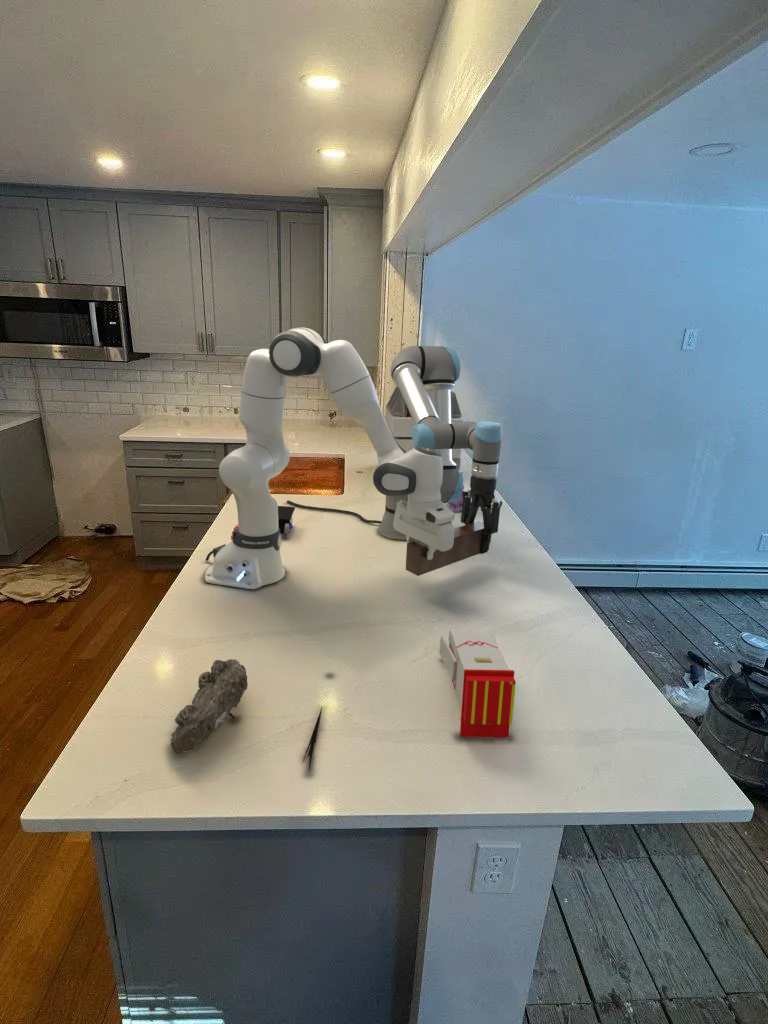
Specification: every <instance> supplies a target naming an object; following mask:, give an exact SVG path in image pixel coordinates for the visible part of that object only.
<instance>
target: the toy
mask: <svg viewBox="0 0 768 1024" xmlns="http://www.w3.org/2000/svg"><path fill="white" fill-rule="evenodd" d="M438 654H439V656H440V658H441V660H442V662H443V665H444V666H445V668H446V671H447V673H448V675H449V677H450V681H451V683H452V685H453V689H454V690H455V695H456V698H457V702H458V705H459V708H460V726H459V737H460V738H509V737H510V728H511V727H510V726H512V725H513V717H514V706H515V705H514V704H515V693H516V684H517V683H516V679H515V670H514V669H510V667H509V666H508V663H507V662H506V660H505V658H504V655H503V654H502V652H501V650H500V648H499V644H498V642H497V638H496V635H495V634H492V632H491V631H490V629H467V628H466V629H465V628H463V629H461V628H460V629H459V628H450V629H449V631H448V641H447V639H446V638H445V636H444V634H443V635H442V634H441V635H440V641H439V651H438Z"/></svg>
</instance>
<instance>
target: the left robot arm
mask: <svg viewBox="0 0 768 1024" xmlns="http://www.w3.org/2000/svg"><path fill="white" fill-rule="evenodd" d="M314 374H316V375H318V376H319V377H320V378H321V379H322V380H323V382H324V384H325V386H326V388H327V390H328V392H329V394H330V396H331V398H332V401H333V403H334V404H335V406H336V408H337V409H338V410H339V412H340V413H341V414H342V416H343V417H344V418H346V419H348V420H352V421H354V422H355V423H357V424H358V425H360V426H361V428H362V429H363V430H364V431H365V433H366V435H367V437H368V439H369V442H370V443H371V445H372V447H373V449H374V451H375V453H376V455H377V466H376V467H375V469H374V472H373V475H372V482H373V485H374V487H375V489H376V490H377V491H378V493H380V494H382V495H384V496H385V497H386V496H401V495H408V501H406V500H404V499H401V500H399V501H398V502H397V508H396V511H395V515H394V522H393V526H394V529H395V530H396V531H398V532H400V533H403V534H405V535H406V539H407V540H406V543H409V542H413V541H416V540H418V541H420V542H422V543H424V544H426V545H428V549H429V551H428V552H426V553H425V558H426V559H428V560H431V559H432V558H433V553H434V552H435V550H436V549H437V550H440V551H442V552H443V551H447V550H449V549H451V548H452V547H453V543H454V529H455V525H454V523H453V521H454V520H455V517H456V515H455V512H454V511H451V510H450V509H449V508H448V507H447V505H446V504H444V503H443V502H441V493H440V488H441V485H442V481H443V460H442V456H441V455H440V453H439V452H438V451H436V450H434V449H432V448H429V447H424V446H417V447H414V448H413V449H412V450H410V451H408V452H406V451H405V450H404V449H402V448H401V447H400V446H399V444H398V443H397V441H396V440H395V438H394V436H393V434H392V432H391V430H390V428H389V426H388V424H387V422H386V419H385V415H384V413H383V411H382V406H381V404H380V400H379V396H378V392H377V390H376V386H375V385H374V382H373V378H372V377H371V375H370V372H369V370H368V368H367V366H366V365H365V362H364V361H363V359H362V357H361V356H360V354H359V353H358V351H357V350H356V349H355V347H354V346H353V344H352V343H351V342H350V341H348V340H346V339H337V340H336V339H335V340H331V341H329V342H328V343H327V341H326V339H325V337H324V336H323V334H322V333H321V332H320V331H318V330H317V329H315V328H313V327H311V326H303V327H301V326H299V327H292V328H290V329H288V330H284V331H281V332H279V334H277V335H276V336H275V337H274V338H273V339H272V341H271V343H270V345H269V348H259V349H256V350H253V351H252V352H250V354H249V355H248V357H247V359H246V363H245V367H244V371H243V374H242V375H243V376H242V382H241V391H240V403H239V413H238V414H239V415H238V419H239V423H241V425H242V426H243V427H244V429H245V433H246V443H245V445H244V446H240V447H239V448H236V449H234V450H232V451H231V452H230V453H228V454H227V455H226V456H225V457H224V458H223V459H222V460H221V461H220V464H219V468H218V474H219V478H220V480H221V482H222V483H223V485H225V487H226V488H228V489H230V491H231V492H232V495H233V497H234V499H235V503H236V510H237V524H236V525H235V526H234V527H233V530H232V532H231V535H230V540H231V541H230V542H229V543H227V544H224V543H223V544H222V545H218V546H217V547H214V548H212V550H211V551H209V553H208V554H206V555H207V556H206V557H205V562H209V559H210V558H211V556H212V557H213V561H212V564H210V566H209V567H208V568H207V570H206V572H205V573H204V580H205V582H206V583H207V584H208V583H209V584H214V585H220V586H228V587H233V588H234V587H235V588H241V589H248V590H256V589H259V588H261V587H263V586H267V585H272V584H275V583H276V582H279V581H281V580H283V578H284V577H285V575H286V571H285V568H284V565H283V560H282V556H281V545H282V541H281V539H282V537H281V534H280V528H279V527H278V506H279V504H278V501H277V500H276V499H275V498H273V497H272V494H271V492H270V487H269V483H270V480H271V479H274V478H275V477H277V476H279V475H280V474H282V472H284V470H285V469H286V467H288V465H289V463H290V460H291V453H290V450H289V448H288V446H287V445H286V444H285V440H284V439H285V438H284V433H283V418H284V417H283V416H284V407H285V397H286V396H285V395H286V388H287V387H286V386H287V382H288V379H289V377H303V376H311V375H314Z"/></svg>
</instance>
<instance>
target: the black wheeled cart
mask: <svg viewBox="0 0 768 1024" xmlns="http://www.w3.org/2000/svg"><path fill="white" fill-rule="evenodd" d="M295 509H296V506H287V505H286V506H285V505H278V527H279V528H280V534H281V535H284V536H283V538H284V539H286V538H287V535H288V534H290V533H291V530H292V529H293V528H294V526H293V515H294V512H295Z"/></svg>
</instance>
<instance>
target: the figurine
mask: <svg viewBox="0 0 768 1024" xmlns="http://www.w3.org/2000/svg"><path fill="white" fill-rule="evenodd" d="M461 473H462V476H463V471H461ZM464 489H465V485H464V483H463V488H462V492H464ZM462 492H461V495H460V496H459V498H458V499H457V500H456V501H455V502H450V503H446V507H448V508H449V509H450V510H451V511H452V512H454V513H455V512H462V504H463V497H462Z"/></svg>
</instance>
